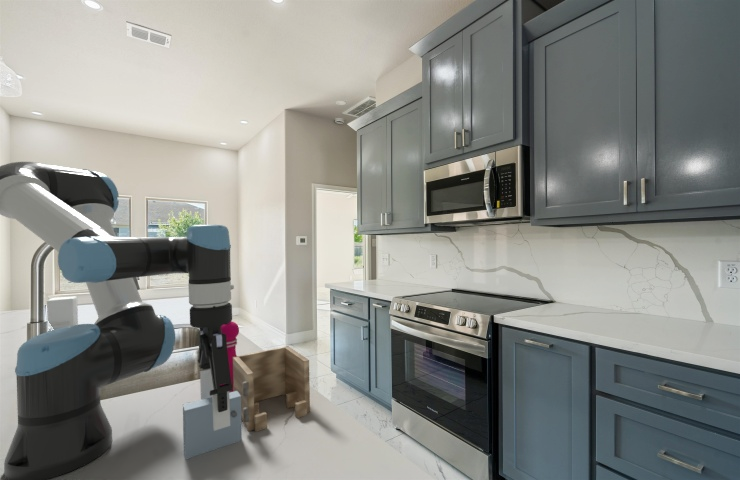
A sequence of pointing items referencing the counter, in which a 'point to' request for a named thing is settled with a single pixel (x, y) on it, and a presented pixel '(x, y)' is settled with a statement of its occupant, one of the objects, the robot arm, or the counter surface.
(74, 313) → the supplement box
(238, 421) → the door
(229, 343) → the pepper mill
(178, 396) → the counter surface
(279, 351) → the cabinet
